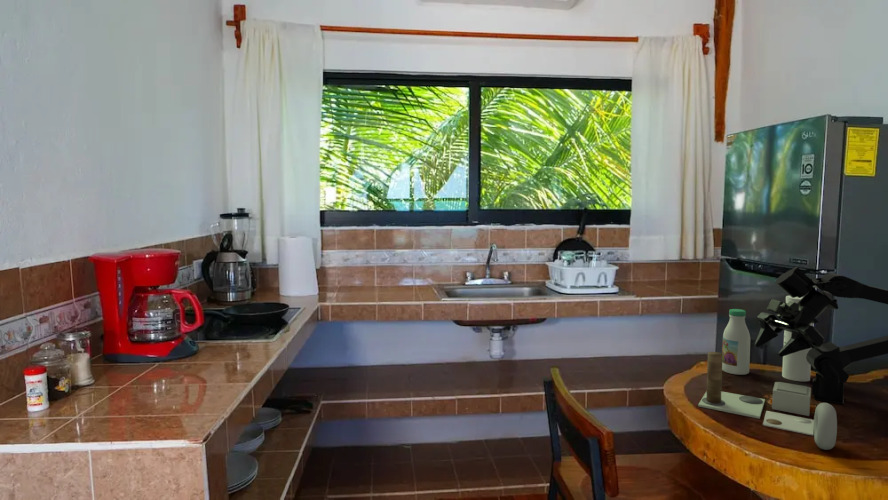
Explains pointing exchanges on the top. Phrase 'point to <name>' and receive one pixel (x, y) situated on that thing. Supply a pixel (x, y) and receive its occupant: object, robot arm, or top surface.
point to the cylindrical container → (795, 357)
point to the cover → (791, 398)
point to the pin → (714, 377)
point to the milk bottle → (736, 344)
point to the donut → (825, 426)
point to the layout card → (789, 423)
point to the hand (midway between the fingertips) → (767, 350)
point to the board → (736, 404)
